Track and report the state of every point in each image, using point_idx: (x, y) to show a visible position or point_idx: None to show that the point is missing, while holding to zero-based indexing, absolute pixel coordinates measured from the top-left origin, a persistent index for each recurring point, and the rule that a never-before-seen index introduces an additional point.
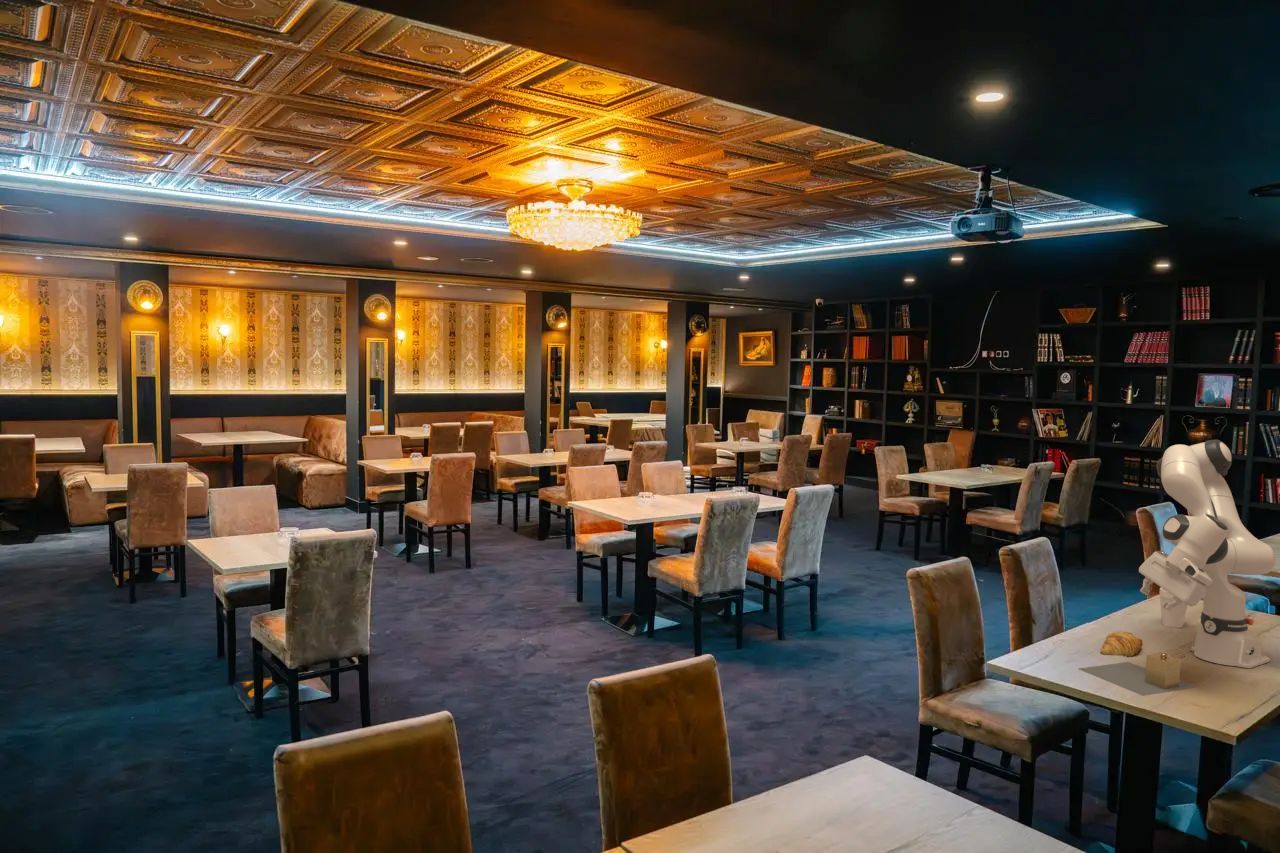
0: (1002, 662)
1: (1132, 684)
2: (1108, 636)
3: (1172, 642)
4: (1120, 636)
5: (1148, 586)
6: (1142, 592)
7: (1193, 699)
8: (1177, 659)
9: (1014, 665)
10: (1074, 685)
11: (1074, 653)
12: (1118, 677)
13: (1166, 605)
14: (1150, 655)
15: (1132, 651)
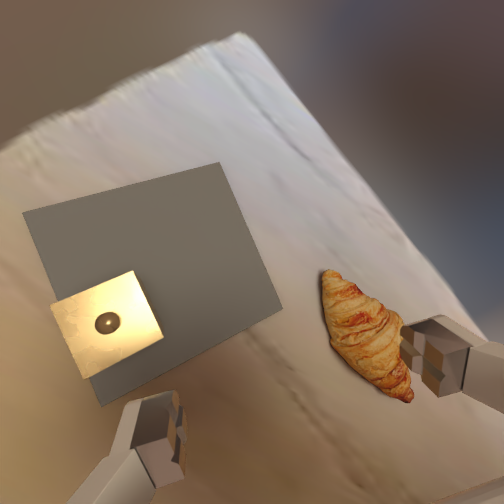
0: (251, 47)
1: (114, 232)
2: (393, 312)
3: (442, 494)
4: (381, 331)
5: (501, 404)
6: (413, 323)
7: (18, 360)
8: (83, 366)
9: (237, 59)
10: (121, 103)
11: (328, 221)
12: (167, 224)
13: (140, 423)
14: (128, 281)
15: (339, 346)
